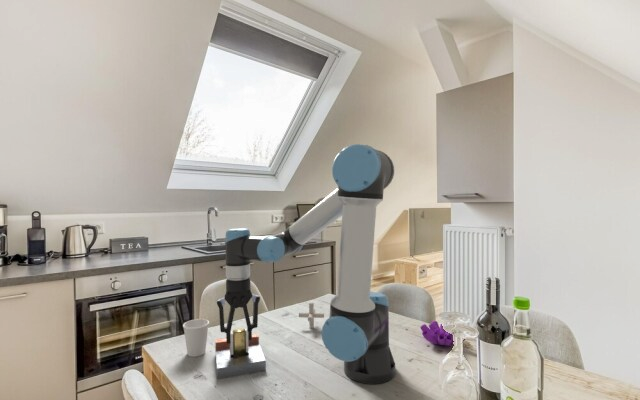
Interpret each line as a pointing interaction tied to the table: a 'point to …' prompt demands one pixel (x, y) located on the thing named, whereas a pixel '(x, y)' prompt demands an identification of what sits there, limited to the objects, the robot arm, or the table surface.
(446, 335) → the pipe connector assembly
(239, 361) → the jig
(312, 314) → the pipe connector
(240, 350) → the brass cylinder
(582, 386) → the table surface
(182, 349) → the table surface
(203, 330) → the dixie cup
